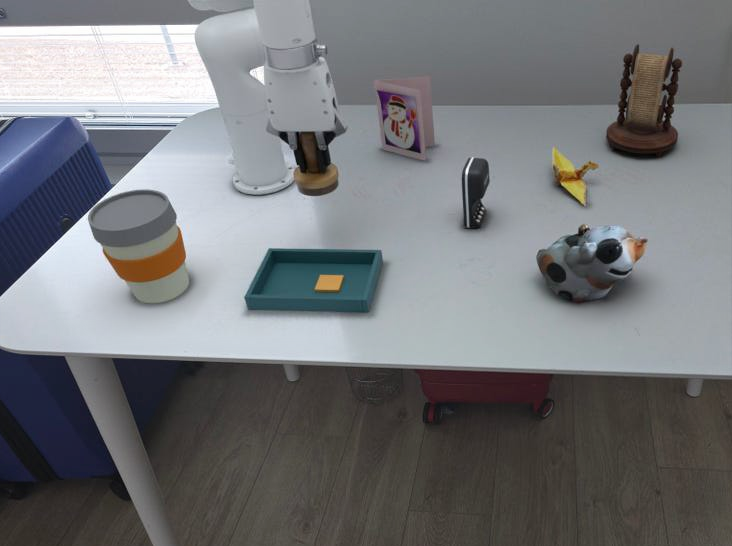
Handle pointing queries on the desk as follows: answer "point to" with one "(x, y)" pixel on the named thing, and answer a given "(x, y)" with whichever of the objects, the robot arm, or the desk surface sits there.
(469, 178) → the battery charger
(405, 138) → the greeting card
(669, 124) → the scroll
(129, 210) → the reusable coffee cup
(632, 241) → the lucky cat figurine
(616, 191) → the desk surface
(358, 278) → the tray
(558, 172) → the origami crane
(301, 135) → the stamp
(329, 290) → the orange flat square block
